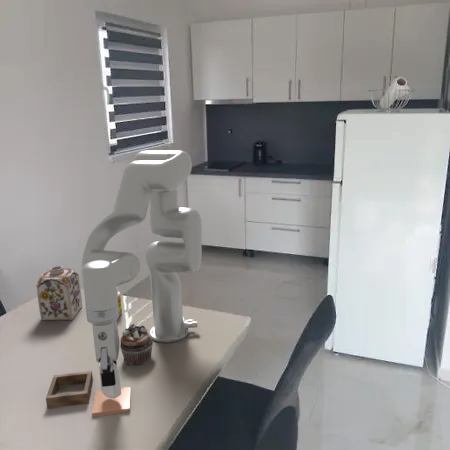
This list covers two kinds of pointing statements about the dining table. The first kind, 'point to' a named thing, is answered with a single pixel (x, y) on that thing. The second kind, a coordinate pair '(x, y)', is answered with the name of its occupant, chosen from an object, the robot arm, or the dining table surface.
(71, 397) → the walnut holder
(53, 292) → the decorative jar
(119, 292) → the supplement bottle
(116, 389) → the eye dropper bottle
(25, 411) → the dining table surface
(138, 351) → the cupcake
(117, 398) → the terracotta tile
